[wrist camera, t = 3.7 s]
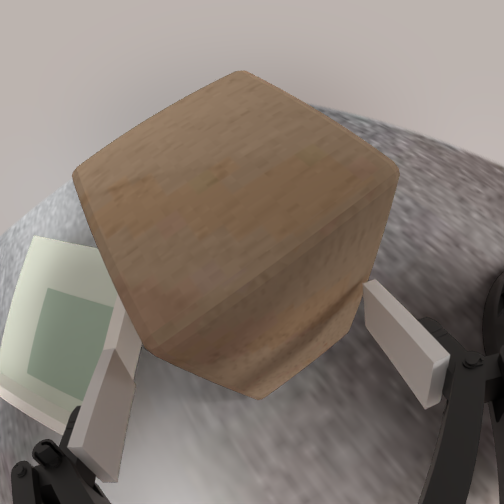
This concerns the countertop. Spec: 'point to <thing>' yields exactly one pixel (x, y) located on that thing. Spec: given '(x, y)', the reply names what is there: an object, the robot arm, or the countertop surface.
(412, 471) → the countertop surface
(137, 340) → the corner arena
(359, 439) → the countertop surface
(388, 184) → the wooden block
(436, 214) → the countertop surface
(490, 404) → the robot arm
